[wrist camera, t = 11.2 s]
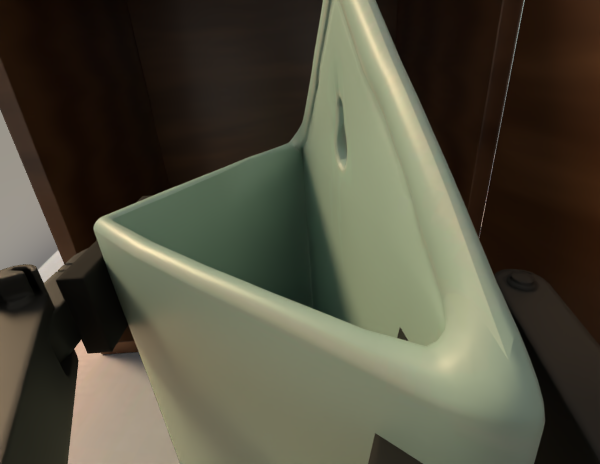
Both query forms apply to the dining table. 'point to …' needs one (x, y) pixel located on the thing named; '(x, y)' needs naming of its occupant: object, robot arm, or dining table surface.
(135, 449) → the dining table surface
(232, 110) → the cupboard
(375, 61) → the planter
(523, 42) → the cupboard door
